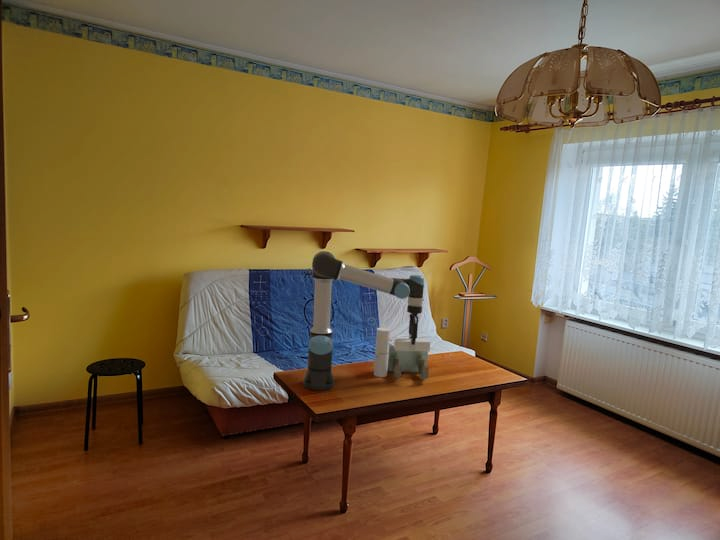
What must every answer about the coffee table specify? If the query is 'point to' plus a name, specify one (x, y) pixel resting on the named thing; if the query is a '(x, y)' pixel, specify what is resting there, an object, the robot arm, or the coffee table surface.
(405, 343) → the rail
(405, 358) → the cup bracket
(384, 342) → the cylindrical container
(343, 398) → the coffee table surface
